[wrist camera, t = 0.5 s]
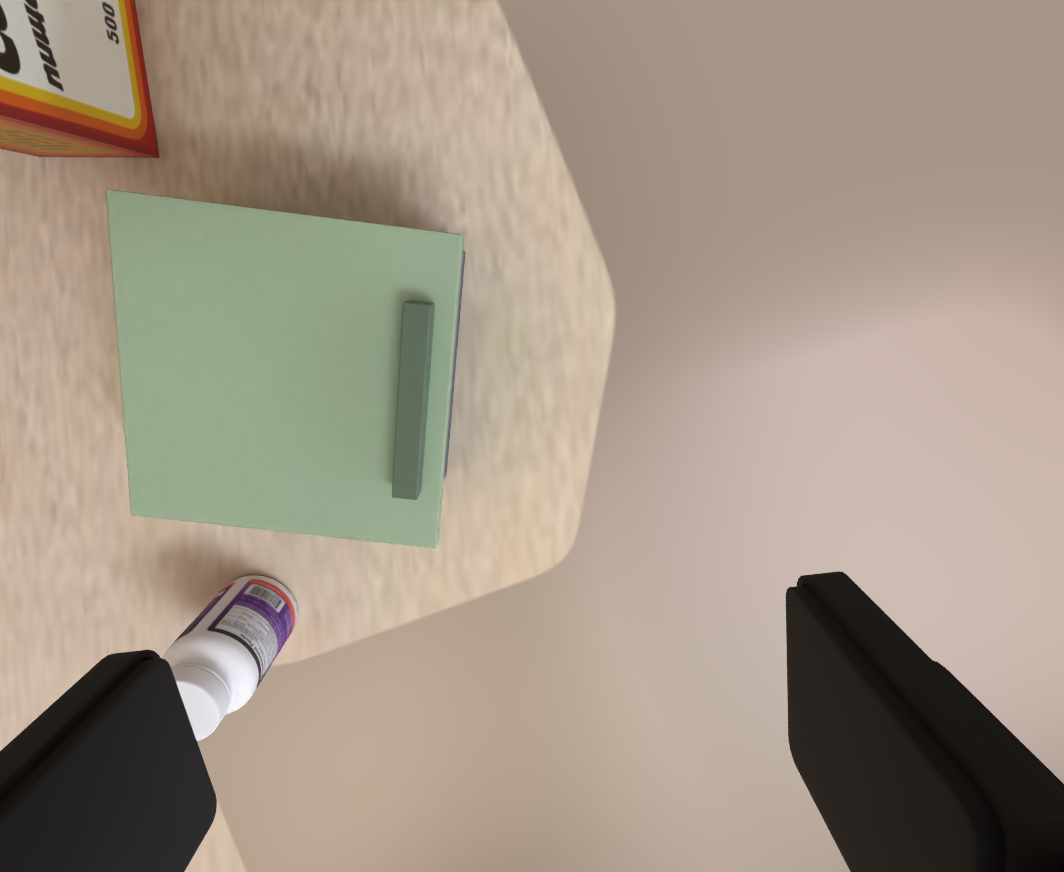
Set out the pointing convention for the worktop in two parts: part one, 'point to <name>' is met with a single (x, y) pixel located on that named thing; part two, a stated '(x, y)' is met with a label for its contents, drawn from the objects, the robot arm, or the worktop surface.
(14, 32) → the baking soda box
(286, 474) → the bin lid
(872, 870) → the robot arm
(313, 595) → the worktop surface
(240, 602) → the pill bottle
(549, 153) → the worktop surface
